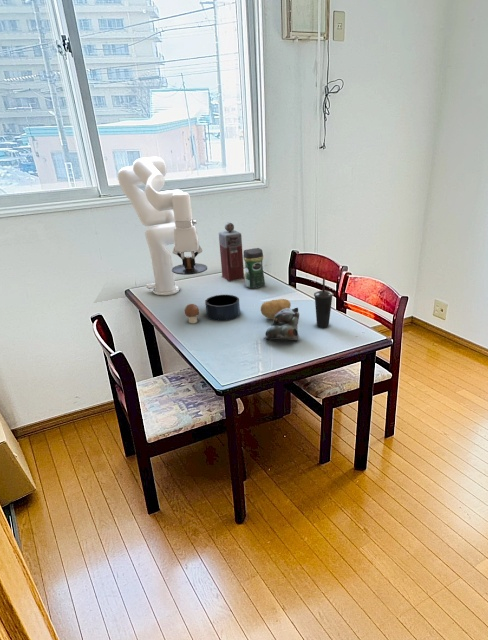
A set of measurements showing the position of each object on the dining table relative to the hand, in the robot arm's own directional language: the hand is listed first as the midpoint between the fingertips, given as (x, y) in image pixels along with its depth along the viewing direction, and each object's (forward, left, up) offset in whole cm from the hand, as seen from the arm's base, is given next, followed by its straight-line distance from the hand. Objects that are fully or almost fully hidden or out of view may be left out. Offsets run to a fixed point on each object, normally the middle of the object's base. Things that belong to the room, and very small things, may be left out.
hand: (189, 267), depth 218 cm
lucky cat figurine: (+36, -44, -18) cm, 59 cm away
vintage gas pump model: (+20, +37, -18) cm, 46 cm away
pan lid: (0, 0, -1) cm, 1 cm away
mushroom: (0, -20, -18) cm, 27 cm away
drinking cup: (+54, -34, -18) cm, 66 cm away
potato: (+36, -22, -18) cm, 45 cm away
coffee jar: (+30, +22, -18) cm, 41 cm away
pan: (+13, -14, -18) cm, 26 cm away
